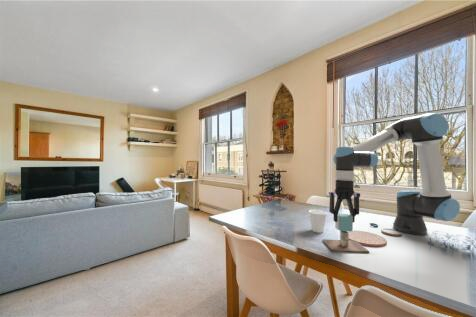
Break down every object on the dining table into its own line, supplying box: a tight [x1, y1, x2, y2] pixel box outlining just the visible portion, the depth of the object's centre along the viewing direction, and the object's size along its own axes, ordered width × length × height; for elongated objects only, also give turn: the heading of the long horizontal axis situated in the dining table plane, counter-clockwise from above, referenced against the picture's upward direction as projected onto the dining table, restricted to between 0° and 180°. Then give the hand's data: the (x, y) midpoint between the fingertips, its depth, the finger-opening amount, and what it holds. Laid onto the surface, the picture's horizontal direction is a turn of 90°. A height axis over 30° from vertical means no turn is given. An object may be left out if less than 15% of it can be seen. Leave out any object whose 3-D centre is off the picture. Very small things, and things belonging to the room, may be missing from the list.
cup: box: [308, 209, 328, 234], centre depth 115 cm, size 10×10×11 cm
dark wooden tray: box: [321, 230, 370, 254], centre depth 95 cm, size 16×12×7 cm
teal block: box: [338, 213, 353, 232], centre depth 95 cm, size 5×5×7 cm
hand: (343, 228), depth 95 cm, fingers closed on teal block, 5 cm apart
